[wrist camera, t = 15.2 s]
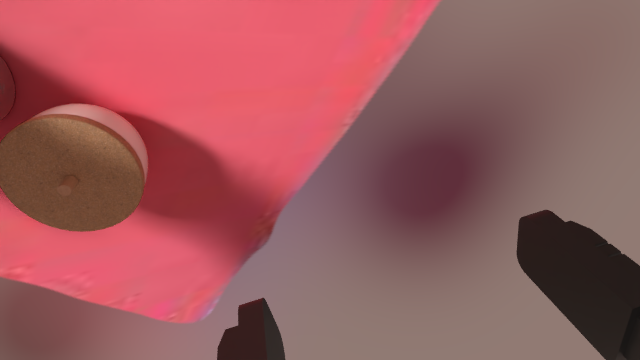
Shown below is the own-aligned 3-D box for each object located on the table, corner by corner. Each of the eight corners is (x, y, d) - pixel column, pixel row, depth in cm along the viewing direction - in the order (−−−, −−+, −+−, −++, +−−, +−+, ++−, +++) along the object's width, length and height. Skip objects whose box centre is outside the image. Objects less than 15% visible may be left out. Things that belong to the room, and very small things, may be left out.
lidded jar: (61, 192, 39) (16, 252, 32) (18, 91, 34) (-49, 132, 26) (168, 182, 41) (152, 235, 33) (144, 84, 36) (118, 120, 28)
